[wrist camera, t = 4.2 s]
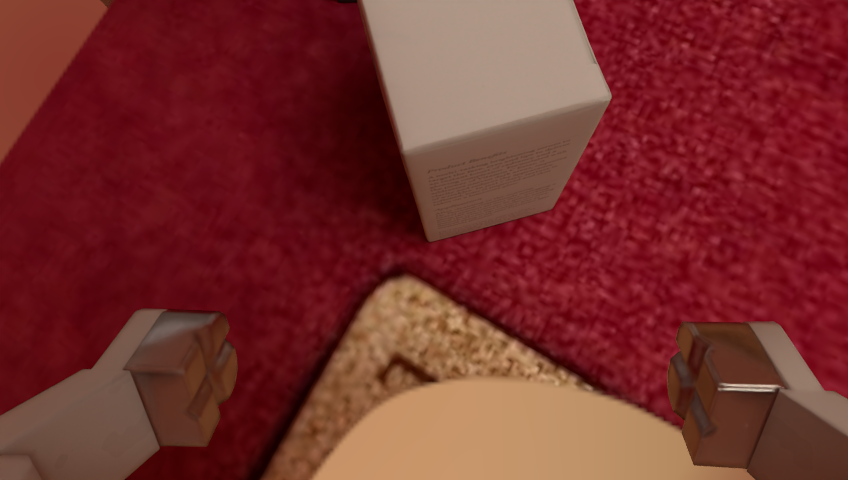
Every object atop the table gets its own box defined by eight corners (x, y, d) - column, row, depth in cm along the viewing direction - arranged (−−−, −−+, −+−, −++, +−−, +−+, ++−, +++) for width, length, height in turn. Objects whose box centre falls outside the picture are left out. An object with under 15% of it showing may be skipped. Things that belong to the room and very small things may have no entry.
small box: (381, 79, 27) (327, -105, 17) (502, 46, 27) (522, -160, 17) (426, 247, 25) (396, 156, 15) (556, 212, 25) (616, 96, 15)
